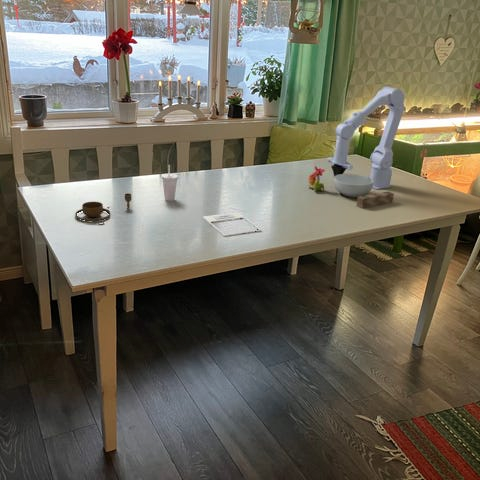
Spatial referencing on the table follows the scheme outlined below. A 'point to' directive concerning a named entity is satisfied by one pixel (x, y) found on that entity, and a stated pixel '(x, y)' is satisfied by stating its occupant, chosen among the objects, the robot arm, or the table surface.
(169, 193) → the smoothie
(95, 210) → the place setting
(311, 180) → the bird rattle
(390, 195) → the block
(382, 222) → the table surface
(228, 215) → the photo frame
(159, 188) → the table surface
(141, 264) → the table surface
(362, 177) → the cereal bowl
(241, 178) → the table surface
